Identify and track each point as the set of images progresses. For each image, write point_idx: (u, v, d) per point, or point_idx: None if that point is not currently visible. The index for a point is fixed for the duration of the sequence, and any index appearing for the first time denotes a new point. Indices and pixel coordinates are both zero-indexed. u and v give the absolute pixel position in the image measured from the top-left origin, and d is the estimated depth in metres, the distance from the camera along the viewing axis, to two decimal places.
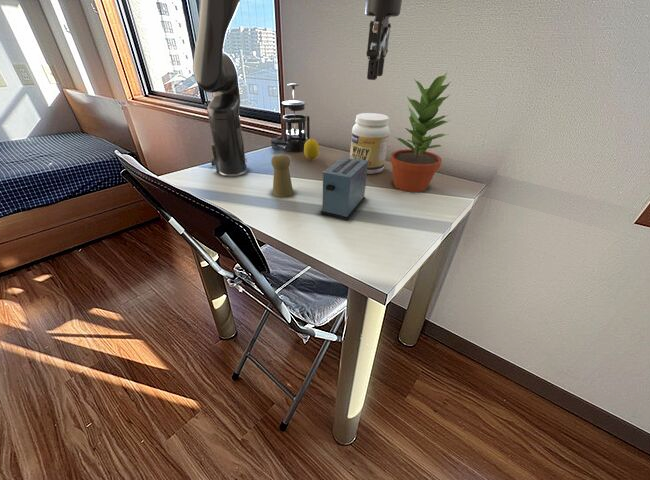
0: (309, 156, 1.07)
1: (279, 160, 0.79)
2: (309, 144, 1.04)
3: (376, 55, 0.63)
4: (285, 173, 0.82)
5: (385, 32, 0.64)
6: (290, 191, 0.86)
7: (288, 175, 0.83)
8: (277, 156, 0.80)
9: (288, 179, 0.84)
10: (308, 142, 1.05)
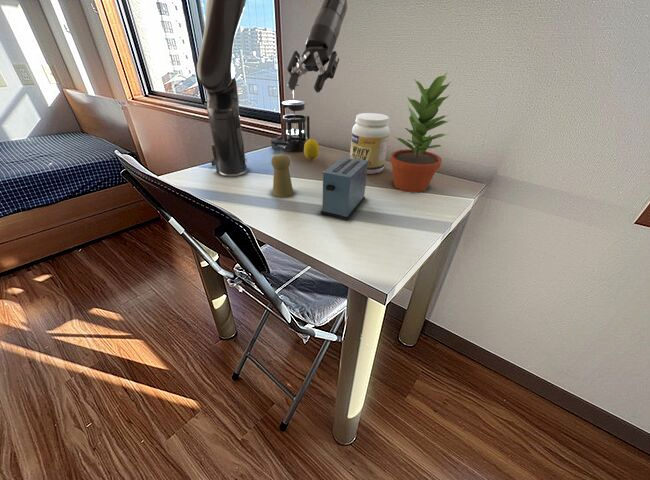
0: (309, 156, 1.07)
1: (279, 160, 0.79)
2: (309, 144, 1.04)
3: (332, 77, 0.79)
4: (285, 173, 0.82)
5: None
6: (290, 191, 0.86)
7: (288, 175, 0.83)
8: (277, 156, 0.80)
9: (288, 179, 0.84)
10: (308, 142, 1.05)
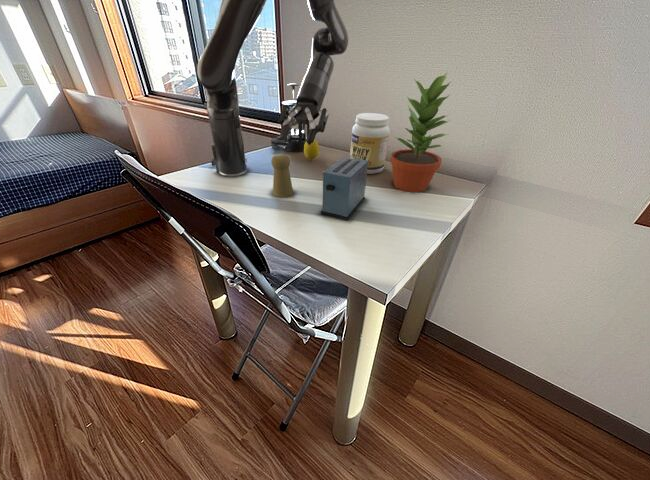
0: (309, 156, 1.07)
1: (279, 160, 0.79)
2: None
3: (322, 131, 0.84)
4: (285, 173, 0.82)
5: None
6: (290, 191, 0.86)
7: (288, 175, 0.83)
8: (277, 156, 0.80)
9: (288, 179, 0.84)
10: None
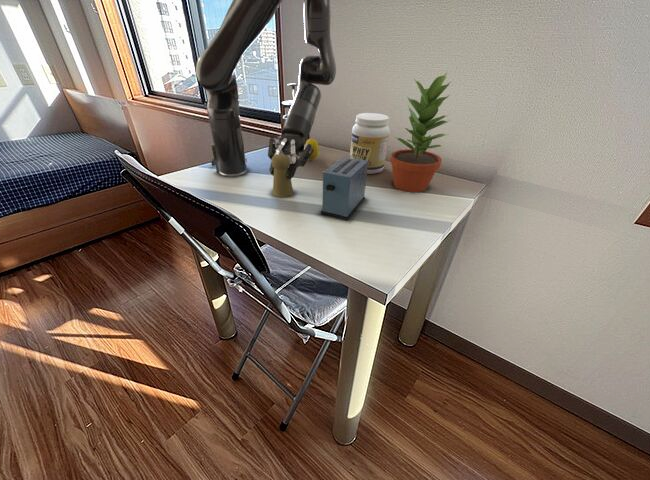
0: None
1: (279, 160, 0.79)
2: None
3: (302, 165, 0.83)
4: (285, 173, 0.82)
5: None
6: (290, 191, 0.86)
7: None
8: (277, 156, 0.80)
9: (288, 179, 0.84)
10: (308, 142, 1.05)
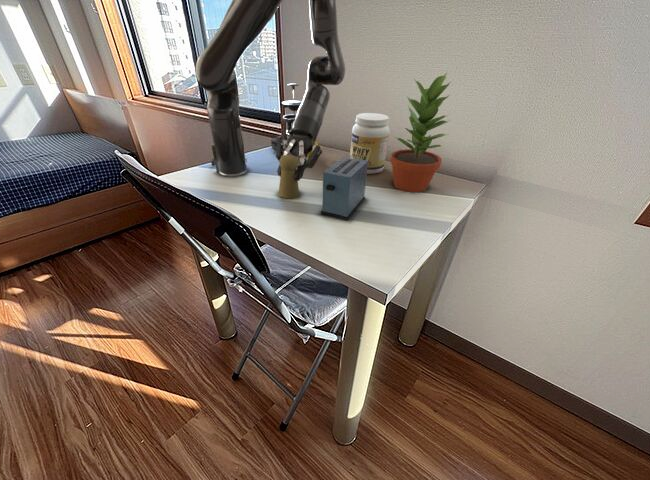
0: None
1: (288, 161, 0.78)
2: None
3: (311, 167, 0.82)
4: (293, 175, 0.81)
5: None
6: (296, 192, 0.85)
7: None
8: (286, 157, 0.79)
9: (295, 180, 0.83)
10: None
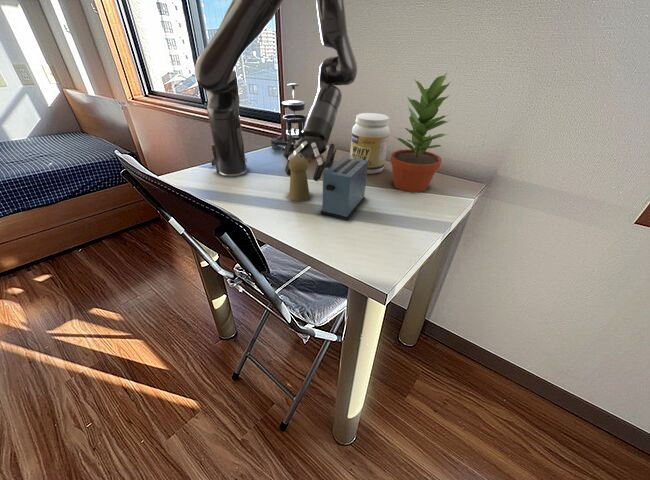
0: None
1: (297, 163, 0.77)
2: None
3: None
4: (302, 177, 0.80)
5: None
6: (307, 195, 0.84)
7: (305, 179, 0.81)
8: (295, 160, 0.78)
9: (305, 183, 0.82)
10: None
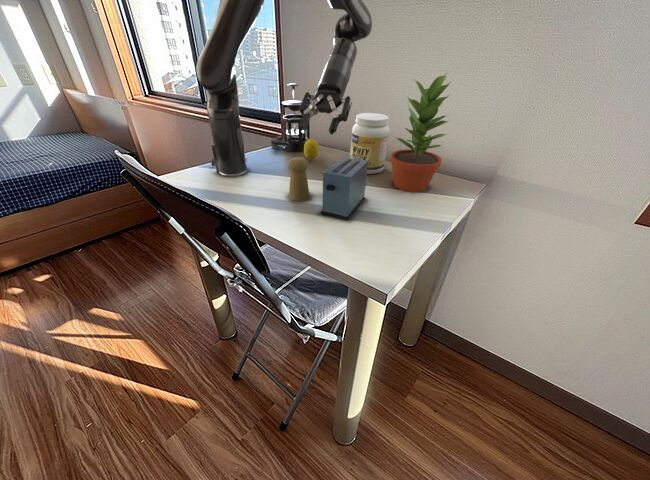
0: (309, 156, 1.07)
1: (297, 163, 0.77)
2: (309, 144, 1.04)
3: (345, 120, 0.81)
4: (302, 177, 0.80)
5: (335, 107, 0.83)
6: (307, 195, 0.84)
7: (305, 179, 0.81)
8: (295, 160, 0.78)
9: (305, 183, 0.82)
10: (308, 142, 1.05)
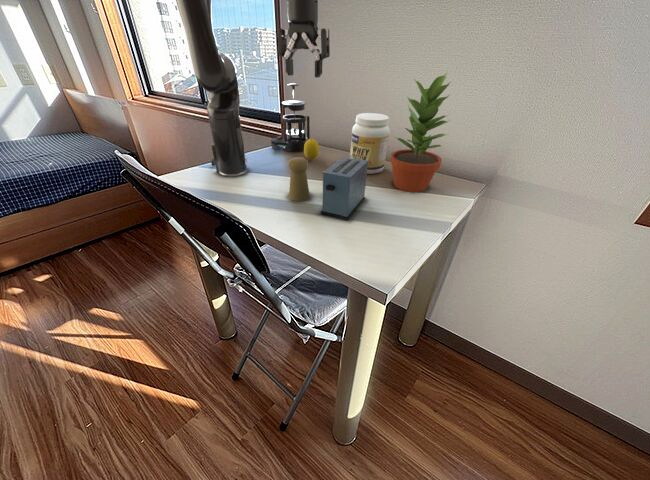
0: (309, 156, 1.07)
1: (297, 163, 0.77)
2: (309, 144, 1.04)
3: (328, 56, 0.77)
4: (302, 177, 0.80)
5: None
6: (307, 195, 0.84)
7: (305, 179, 0.81)
8: (295, 160, 0.78)
9: (305, 183, 0.82)
10: (308, 142, 1.05)
